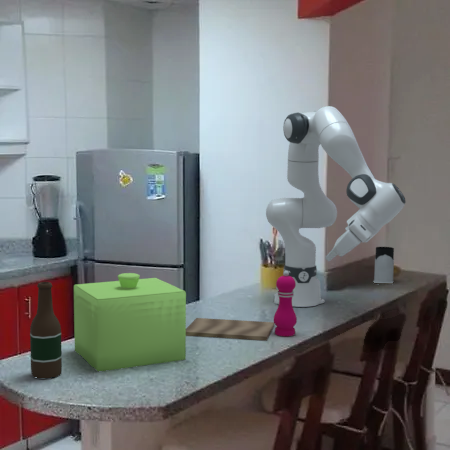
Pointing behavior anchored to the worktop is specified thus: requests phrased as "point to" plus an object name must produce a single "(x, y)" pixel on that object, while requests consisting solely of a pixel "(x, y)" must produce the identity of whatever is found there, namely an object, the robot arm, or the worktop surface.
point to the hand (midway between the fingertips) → (327, 259)
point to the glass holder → (384, 265)
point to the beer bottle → (45, 337)
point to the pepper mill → (285, 306)
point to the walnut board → (230, 329)
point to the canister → (129, 322)
